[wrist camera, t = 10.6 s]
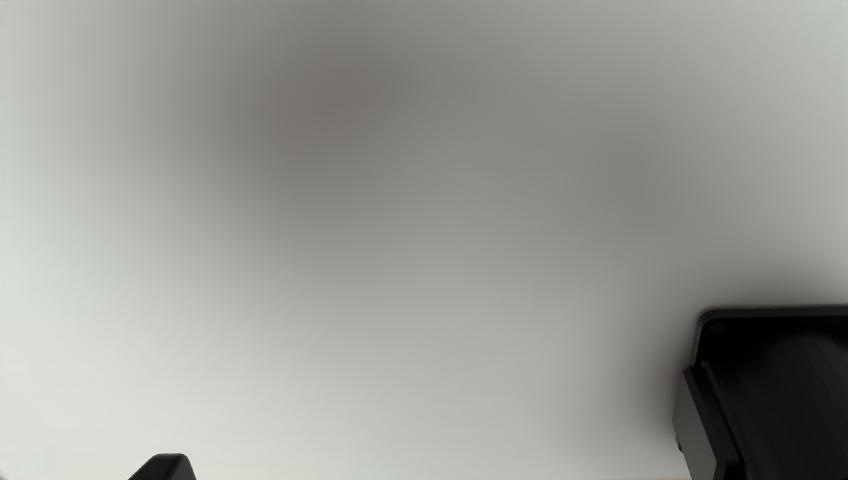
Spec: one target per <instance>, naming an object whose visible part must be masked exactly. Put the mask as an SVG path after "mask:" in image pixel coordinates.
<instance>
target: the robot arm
mask: <svg viewBox="0 0 848 480" xmlns="http://www.w3.org/2000/svg"><path fill="white" fill-rule="evenodd" d="M714 324H720V325H719V326H717V327H714V328H710V327H711V326H713V325H714ZM673 424H674V427H675V430H676V442H677V445H678V448H679V450H680V451H681V452H682V453H683V454H684V457H685V460H686V463H687V466H688V469H689V472H690V475H691V478H692V480H848V307H839V308H786V309H734V310H712V311H708V312H706V313H704V314H703V315H702V316H701V317H700V318H699V321H698V324H697V329H696V334H695V339H694V345H693V350H692V355H691V360H690V365H686V367H685V368H684V369H683V370H682V371H681V376H680V381H679V386H678V392H677V397H676V403H675V408H674V413H673ZM128 480H196V477H195V475H194V472H193V469H192V467H191V464H190V461H189V459H188V457H187V456H185V455H184V454H181V453H175V454H157V455H155V456H153V457H152V458H150V459H149V460H148V461H147V462H146V463H145V464H144V465H143V466H142V467H141V468H140V469H139V470H138V471H136V472H135V473H134V474H133V475H132V476H131V477H130V478H129V479H128Z"/></svg>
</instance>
